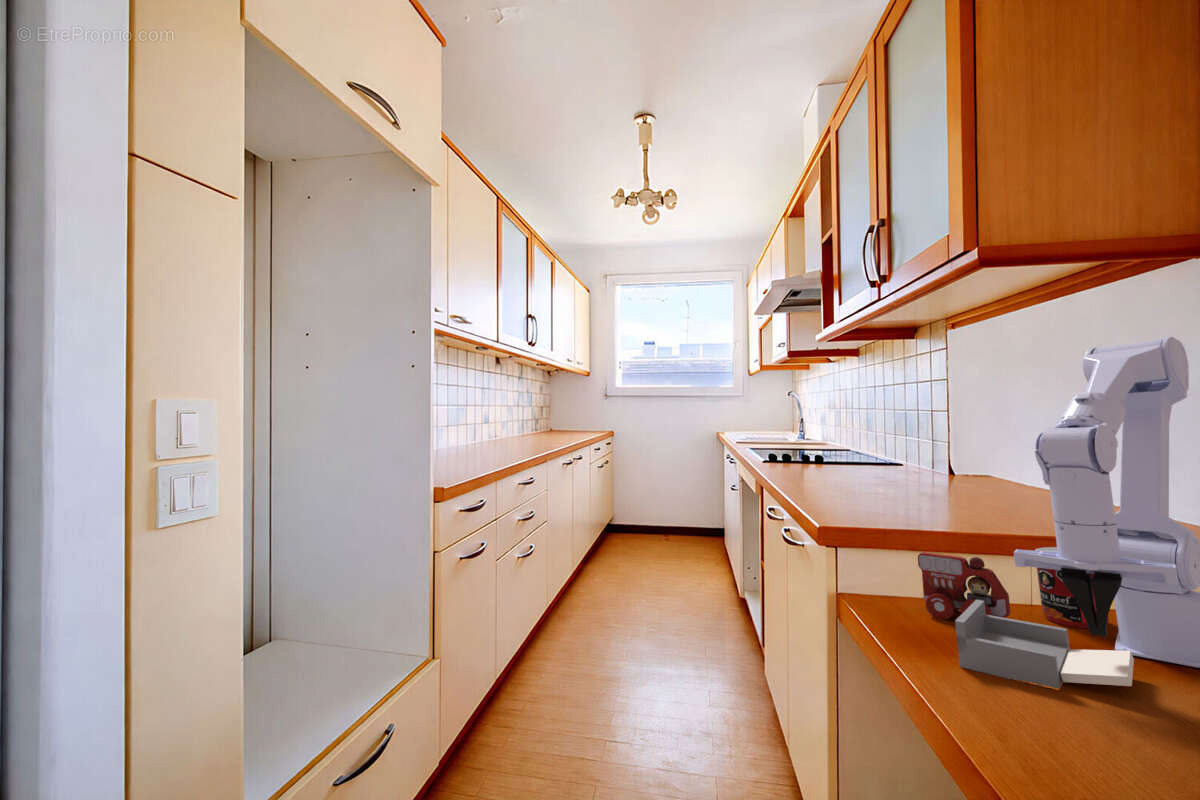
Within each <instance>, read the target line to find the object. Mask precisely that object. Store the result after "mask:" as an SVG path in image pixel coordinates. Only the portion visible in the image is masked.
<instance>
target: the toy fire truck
mask: <svg viewBox="0 0 1200 800" xmlns="http://www.w3.org/2000/svg"><path fill="white" fill-rule="evenodd" d="M917 566H918V568H919V569H920V570H921V577H922V579H921V581H922V590H923V592H922V593H923V600H924V601H925V608H926V610H927V612H928V613H929V615H931V616H932V617H934V618H935V619H937V618H938V620H942V619H944V621H945V620H948V619H950V618H952V617H953V616H954V614H955V613H956V612H958V611H960V615H961V614H962V613H963V612H964V611H965V610H966V609H967V608H968V607H969V606H970V605H971V604H972V603H973V602H974V601H975V600H982V601H984V603H985V612H986V615H991V616H997V617H1003V618H1008V617H1010V614H1011V605H1010V596H1009V593H1008V592H1007V590H1006V589H1005V587H1004V586H1003V583H1002V582H1001V581H1000V579H999V578H998V576H997V575H996V573H995V572H994V571H993V569H990V568H985V566H986V565H985V562H984V560H983V559H982V558H980V557H979V556H975V557H971V558H970V559H969V561H968V560H967V559H966V558H965V557H963V556H958V555H957V556H956V555H949V554H941V553H940V554H939V553H933V552H926V551H925V552H920V553H919V554H918V556H917ZM967 579H968V580H967ZM968 589H969V591H970V592H967V591H968ZM966 592H967V593H966ZM989 592H990V594H989ZM965 593H966V596H965Z"/></svg>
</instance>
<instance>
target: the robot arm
mask: <svg viewBox="0 0 1200 800" xmlns="http://www.w3.org/2000/svg"><path fill="white" fill-rule="evenodd" d="M1082 370H1083V374H1084V377H1085V379H1086V381H1087V383H1088V384H1087V386H1086V389H1085V391H1084V393H1078V394H1076V395H1074V397H1072V398H1071V399H1070V401H1069V402H1068V403H1067V405H1066V407H1065V409H1064V410H1063V412H1062V413H1061V416H1060V417H1059V419H1058V421H1057V423H1056V424H1055V425H1054V427H1052V428H1047V429H1045V430H1044V431H1043V432H1040V433H1039V434H1037V437H1036V439H1035V449H1034V454H1035V455H1034V456H1035V458H1036V459H1035V460H1036V462H1037V464H1038V466H1039V467H1040V470H1041V474H1042V481H1044V484H1045V485H1047V486H1049V495H1050V502H1051V511H1052V519H1053V526H1054V533H1055V541H1056V547H1057V550H1058V552H1054V551H1035V550H1031V549H1030V550H1028V549H1027V550H1026V549H1017V548H1016V549H1015V550H1014V551H1013V557H1014V566H1015V567H1020V568H1027V567H1028V568H1029V567H1030V568H1036V569H1037V568H1046V569H1054V570H1061V572H1062V573H1061V574H1062V576H1061V579H1062V581H1063V583H1064V584H1065V586H1066V587H1067V588H1068V590H1069V591H1070V592H1071V594H1072V595H1073V597H1074V598H1075V600H1076V602H1077V603H1078V605H1079V607H1080V609H1081V611H1082V613H1083V615H1084V617H1085V619H1086V622H1087V624H1088V627H1089V629H1088V630H1089V634H1090V635H1091V636H1098V637H1104V638H1106V637H1107V635H1108V625H1107V619H1108V617H1109V613H1110V611H1111V607H1112V605H1113V602H1114V606H1115V607H1114V608H1115V614H1116V620H1117V628H1118V630H1117V631H1118V632H1117V634H1116V638H1115V644H1114V650H1116V651H1131V654H1132V656H1135V657H1140V658H1146V659H1151V660H1156V661H1162V662H1166V663H1172V664H1176V665H1177V664H1178V665H1183V666H1187V667H1193V668H1199V669H1200V591H1195V590H1197V589H1198V588H1200V539H1199V538H1198V537H1197V534H1195V532H1194V531H1192V530H1191V529H1190V528H1189V527H1187V526H1185V525H1183V524H1182V523H1180V522H1178V521H1177V520H1174V519H1173V518H1172V517H1170V420H1171V414H1172V408H1173V407H1172V406H1174V405H1175V404H1177V403H1180V402H1181V401H1184V400H1185V399H1187V397H1188V390H1189V386H1190V385H1189V381H1190V380H1189V379H1190V378H1189V373H1190V372H1189V360H1188V356H1187V352H1186V348H1185V347H1184V344H1183V343H1182V342H1181V340H1179V339H1177V338H1175V337H1174V336H1168V337H1167V336H1166V337H1164V338H1161V339H1154V340H1148V341H1147V340H1146V341H1140V342H1134V343H1126V344H1120V345H1113V346H1106V347H1099V348H1098V347H1091V348H1089V349H1088V350H1087V351H1086V353H1084V355H1083V358H1082ZM1120 429H1121V455H1120V456H1121V458H1120V459H1121V461H1120V484H1119V485H1120V489H1119V491H1120V492H1119V510H1118V511H1117V512H1115V508H1114V507H1115V506H1114V498H1113V490H1112V485H1111V477H1110V476H1111V475H1110V473H1111V472H1112V471H1113V470H1114V469H1115V468H1116V465H1117V460H1118V459H1117V458H1118V456H1117V451H1118V450H1117V449H1118V447H1119V442H1118V439H1117V437H1116V436H1117V434H1118V432H1119V430H1120ZM1091 574H1094V575H1093V577H1092V579H1091ZM1092 587H1093V590H1092ZM1093 592H1094V598H1095V604H1096V610H1095V605H1094V599H1093Z"/></svg>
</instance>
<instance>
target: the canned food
mask: <svg viewBox="0 0 1200 800" xmlns="http://www.w3.org/2000/svg"><path fill="white" fill-rule="evenodd" d="M1034 551H1054V552H1058V550H1057V546H1053V547H1052V546H1047V547H1039V548H1035V550H1034ZM1036 573H1037V580H1038V587H1039V595H1040V596H1039V597H1040V604H1041V610H1042V614H1043V615H1044V617H1045V618H1046V619H1047V620H1048V621H1050V622H1052V621H1053V622H1052V623H1054V624H1055V623H1056V624H1058V625H1063V626H1066V627H1070V628H1071V627H1072V628H1078V629H1087V630H1089V627H1088V624H1087V622H1086V619H1085V617H1084V615H1083V613H1082V611H1081V609H1080V607H1079V605H1078V603H1077V602H1076V600H1075V598H1074V597H1073V595H1072V594H1071V592H1070V591H1069V590H1068V588H1067V587H1066V586H1065V584H1064V583H1063V581H1062V579H1061V576H1062V574H1061V573H1062V572H1061V570H1054V569H1046V568H1037V567H1036ZM1093 575H1094V574H1091V579H1092V577H1093ZM1092 590H1093V587H1092ZM1093 599H1094V605H1095V610H1096V604H1095V598H1094V592H1093ZM1109 617H1110V616H1108V619H1107V626H1108V625H1109V621H1110V618H1109Z"/></svg>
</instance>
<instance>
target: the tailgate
mask: <svg viewBox="0 0 1200 800" xmlns="http://www.w3.org/2000/svg"><path fill="white" fill-rule="evenodd" d="M1133 656H1134V655H1132V654H1131V651H1116V650H1115V649H1114V650H1113V649H1112V650H1110V649H1109V650H1108V649H1078V648H1076V649H1075V648H1074V649H1069V650H1068V653H1067V655H1066V658H1065V661H1064V663H1063V666H1062V669H1061V672H1060V675H1061V677H1062V680H1063V683H1073V684H1091V685H1105V686H1107V685H1109V686H1123V687H1132V686H1133V673H1134V661H1135V658H1134V657H1133Z"/></svg>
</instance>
